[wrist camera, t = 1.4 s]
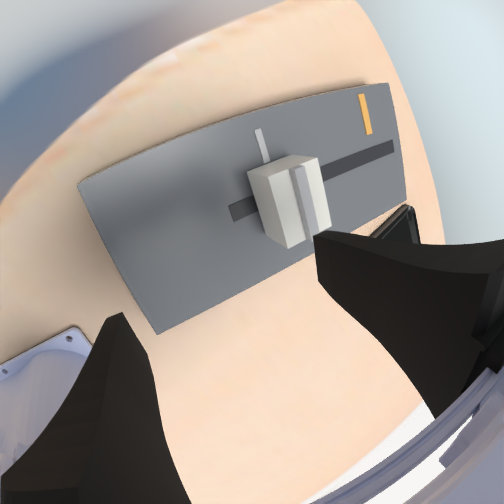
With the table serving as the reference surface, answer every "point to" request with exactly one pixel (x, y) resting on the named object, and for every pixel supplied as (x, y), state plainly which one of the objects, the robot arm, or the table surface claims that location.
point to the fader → (291, 199)
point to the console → (239, 197)
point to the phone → (400, 226)
